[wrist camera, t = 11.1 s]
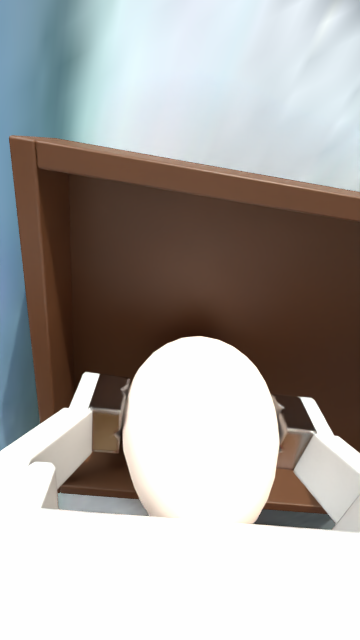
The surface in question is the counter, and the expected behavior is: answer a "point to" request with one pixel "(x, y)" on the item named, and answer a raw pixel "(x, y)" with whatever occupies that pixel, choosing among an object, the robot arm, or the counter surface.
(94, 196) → the tray
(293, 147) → the counter surface
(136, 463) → the egg
